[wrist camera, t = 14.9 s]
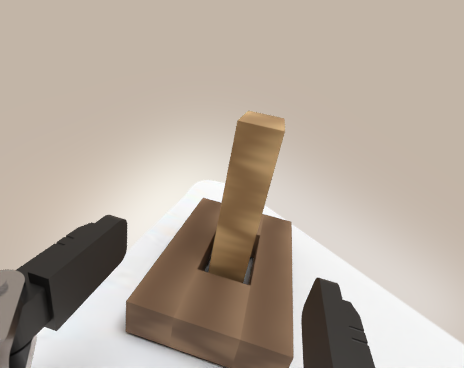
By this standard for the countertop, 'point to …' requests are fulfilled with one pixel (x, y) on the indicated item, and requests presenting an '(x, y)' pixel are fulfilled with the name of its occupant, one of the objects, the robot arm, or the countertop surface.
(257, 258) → the base board
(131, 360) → the countertop surface
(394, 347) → the countertop surface
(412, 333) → the countertop surface
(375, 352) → the countertop surface
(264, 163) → the plank
